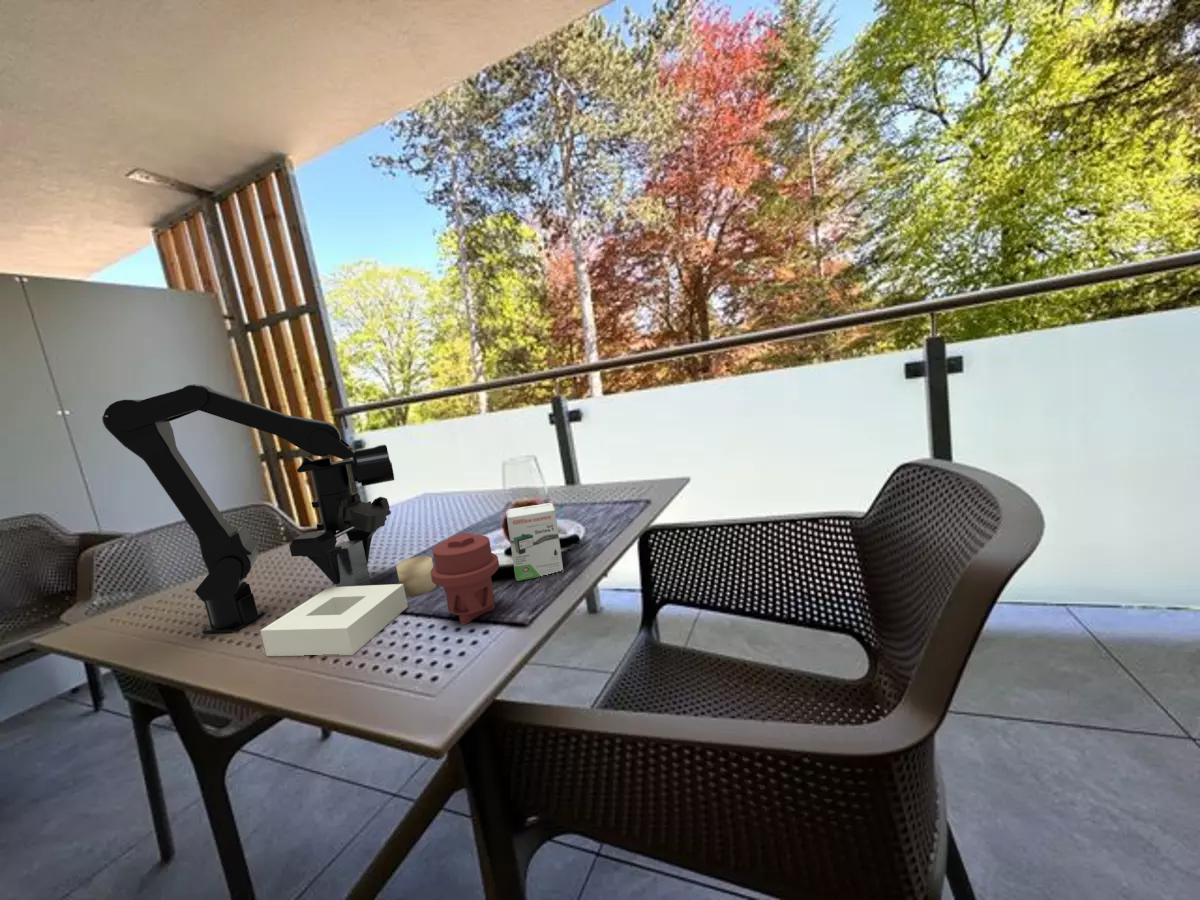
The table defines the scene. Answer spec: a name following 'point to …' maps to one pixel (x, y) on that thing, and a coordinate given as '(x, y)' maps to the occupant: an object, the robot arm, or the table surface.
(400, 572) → the beige rounded lump
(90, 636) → the table surface
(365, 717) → the table surface
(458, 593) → the mechanical component
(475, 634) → the table surface
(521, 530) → the ink box
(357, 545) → the square bar
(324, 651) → the socket block
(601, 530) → the table surface
